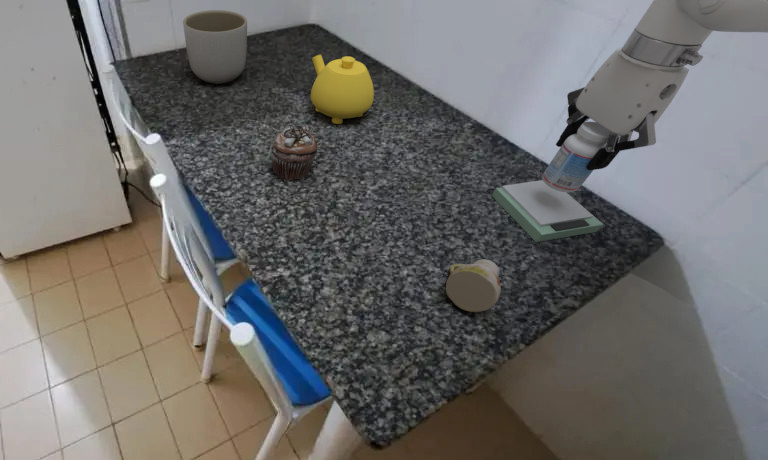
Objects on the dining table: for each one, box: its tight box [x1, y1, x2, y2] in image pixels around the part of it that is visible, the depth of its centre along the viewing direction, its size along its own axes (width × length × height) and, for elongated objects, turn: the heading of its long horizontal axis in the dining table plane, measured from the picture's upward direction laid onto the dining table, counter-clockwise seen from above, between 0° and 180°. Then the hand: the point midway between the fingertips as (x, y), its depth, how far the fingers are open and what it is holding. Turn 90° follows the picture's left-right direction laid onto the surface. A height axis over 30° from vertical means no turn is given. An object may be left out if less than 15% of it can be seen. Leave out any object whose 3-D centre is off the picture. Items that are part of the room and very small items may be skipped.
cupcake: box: [269, 124, 318, 181], centre depth 81 cm, size 10×10×10 cm
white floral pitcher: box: [445, 258, 502, 313], centre depth 60 cm, size 8×10×10 cm
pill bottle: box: [541, 121, 610, 193], centre depth 67 cm, size 6×6×11 cm
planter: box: [182, 9, 248, 85], centre depth 109 cm, size 17×17×15 cm
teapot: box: [309, 54, 375, 125], centre depth 98 cm, size 20×16×14 cm
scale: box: [491, 179, 604, 243], centre depth 75 cm, size 13×13×3 cm
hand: (579, 155), depth 67 cm, fingers closed on pill bottle, 6 cm apart
